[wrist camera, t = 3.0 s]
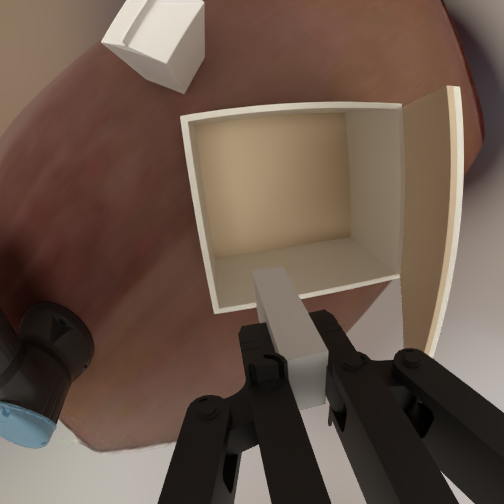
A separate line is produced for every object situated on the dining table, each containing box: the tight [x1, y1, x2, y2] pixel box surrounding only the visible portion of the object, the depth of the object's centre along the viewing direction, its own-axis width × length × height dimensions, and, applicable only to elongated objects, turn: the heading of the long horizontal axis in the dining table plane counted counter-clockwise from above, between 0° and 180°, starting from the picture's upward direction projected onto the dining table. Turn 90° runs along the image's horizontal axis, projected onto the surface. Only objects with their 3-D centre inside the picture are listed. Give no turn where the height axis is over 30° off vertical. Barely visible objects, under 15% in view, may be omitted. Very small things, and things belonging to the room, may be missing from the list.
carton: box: [180, 102, 405, 314], centre depth 36 cm, size 22×20×14 cm
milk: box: [101, 0, 205, 94], centre depth 24 cm, size 6×6×22 cm
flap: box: [400, 86, 464, 358], centre depth 21 cm, size 21×19×1 cm
